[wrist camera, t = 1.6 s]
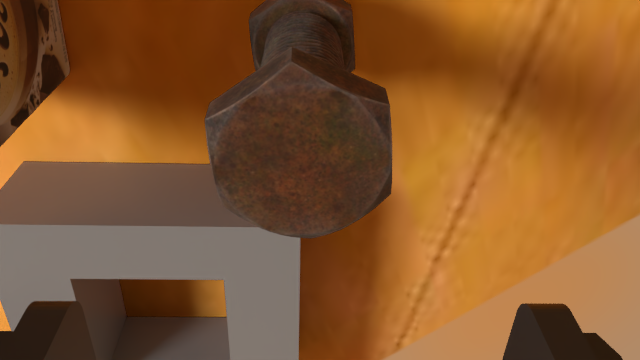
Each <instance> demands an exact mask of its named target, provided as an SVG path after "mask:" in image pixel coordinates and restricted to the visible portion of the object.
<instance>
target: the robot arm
mask: <svg viewBox="0 0 640 360" xmlns="http://www.w3.org/2000/svg"><path fill="white" fill-rule="evenodd" d="M0 360H96V356H95V352H94V349H93V345H92V341H91V337H90V334H89V330H88V326H87V323H86V319H85V315H84V312H83V308H82V306H81V304H80V303H79V302H78V301H34V302H32V303H31V304H30V305H29V306H28V307H27V309H26V310H25V312H24V314H23V315H22V317H21V319H20V321H19V323H18V324H17V326H16V328H15V330H14V331H0ZM503 360H623V359H622V358H621V356H620V355H619V354H618V353H617V352H616V351H615V350H614V349H612V348H611V347H610V346H609V345H608V344H607V343H606V342H605V341H604V340H603V339H602V338H600V337H599V336H598V335H597V334H596V333H582V331H581V329H580V327H579V325H578V323H577V322H576V320H575V318H574V316H573V315H572V312H571V311H570V309H569V308H568V307H567V306H566V305H564V304H521V305H520V307H519V308H518V310H517V313H516V316H515V320H514V323H513V326H512V329H511V333H510V336H509V339H508V343H507V346H506V349H505V353H504V356H503Z"/></svg>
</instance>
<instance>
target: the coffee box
mask: <svg viewBox="0 0 640 360" xmlns="http://www.w3.org/2000/svg"><path fill="white" fill-rule="evenodd" d="M69 73H70V67H69V61H68V55H67V49H66V44H65V39H64V33H63V28H62V22H61V17H60V11H59V6H58V0H0V146H1V145H3V144H4V143H5V141H6V140H7V139H8V138H9V137H10V136H11V135H12V134H13V133H14V132H15V130H16V129H17V128H18V127H19V126H20V125H21V124H22V123H23V122H24V121H25V120H26V119H27V118H28V117H29V116H30V115H31V114H32V113H33V112H34V111H35V110H36V109H37V107H38V106H39V105H40V104H41V103H42V102H43V101H44V100H45V99H46V98H47V97H48V96H49V95H50V94H51V92H52V91H53V90H54V89H55V88H56V87H57V86H58V85H59V84H60V83H61V82H62V81H63V80H64V79H65V78H66V77H67V76H68V75H69Z"/></svg>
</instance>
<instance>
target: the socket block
mask: <svg viewBox="0 0 640 360" xmlns="http://www.w3.org/2000/svg"><path fill="white" fill-rule="evenodd" d="M119 279H169V280H224V287H225V299H226V312H227V317H127V315H126V310H125V306H124V301H123V296H122V291H121V287H120V282H119ZM0 301H1V303H2V306H3V309H4V311H5V314H6V317H7V320H8V322H9V325H10V328H11V330H12V331H14V330H15V328H16V326H17V324H18V323H19V321H20V319H21V317H22V315H23V314H24V312H25V310H26V309H27V307H28V306H29V305H30V304H31V303H32V302H34V301H78V302H79V303H80V304H81V306H82V308H83V312H84V315H85V319H86V323H87V326H88V330H89V334H90V337H91V341H92V345H93V349H94V352H95V356H96V360H299V302H300V238H297V237H289V236H284V235H279V234H276V233H273V232H269V231H267V230H264V229H261V228H259V227H256V226H254V225H252V224H250V223H248V222H247V221H245V220H243V219H241V218H239V217H238V216H236V215H235V214H233V213H232V212H230V211H229V210H227V209H226V208H224V207H223V206H222V203H221V201H220V199H219V196H218V193H217V189H216V185H215V181H214V176H213V172H212V168H211V164H163V163H96V162H28V161H24V162H23V163H22V164H21V165H20V166H19V168H18V169H17V170H16V171H15V173H14V174H13V175H12V176H11V177H10V179H9V180H8V181H7V182H6V183H5V185H4V186H3V187H2V188H1V189H0Z"/></svg>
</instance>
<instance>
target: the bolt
mask: <svg viewBox="0 0 640 360" xmlns="http://www.w3.org/2000/svg"><path fill="white" fill-rule="evenodd" d="M249 28H250V38H251V46H252V53H253V59H254V65H255V70H256V72H254V73H253V74H251V75H250V76H248V77H247V78H245V79H244V80H242V81H241V82H239V83H238V84H237V85H235V86H234V87H232V88H231V89H229V90H228V91H226V92H225V93H223V94H222V95H220V96H219V97H218V98H216V99H215V100H213V101H212V102H210V104H209V108H208V111H207V114H206V117H205V128H206V137H207V146H208V152H209V159H210V164H211V168H212V172H213V176H214V181H215V185H216V189H217V193H218V196H219V199H220V201H221V203H222V206H223V207H224V208H226V209H227V210H229V211H230V212H232V213H233V214H235V215H236V216H238V217H239V218H241V219H243V220H245V221H247V222H248V223H250V224H252V225H254V226H256V227H259V228H261V229H264V230H267V231H269V232H273V233H276V234H279V235H284V236H289V237H297V238H315V237H319V236H323V235H327V234H330V233H333V232H335V231H338V230H341V229H343V228H345V227H347V226H348V225H350V224H352V223H354V222H355V221H357V220H359V219H360V218H362V217H363V216H365V215H366V214H367V213H369V212H370V211H372V210H373V209H374V208H375V207H377V206H378V205H379V204H380V203H381V202H382V201H383V200H384V199H386V198H387V197H388V196H389V195H390V194H391V186H392V132H391V117H390V104H389V101H388V97H387V93H386V90H385V88H383V87H381V86H379V85H376V84H374V83H372V82H370V81H367V80H365V79H363V78H361V77H359V76H356V75H354V74H352V73H351V72H352V71H353V70H354V69H355V50H354V30H353V16H352V9H351V5H350V4H348V3H347V2H345V1H343V0H266V1H265V2H263V3H262V4H261V5H260V6H259V7H258V8H256V9H255V10H254V11H253V12H252V13H251V15H250V18H249Z"/></svg>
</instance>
